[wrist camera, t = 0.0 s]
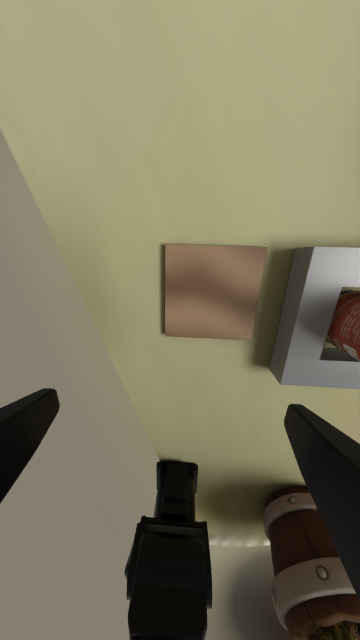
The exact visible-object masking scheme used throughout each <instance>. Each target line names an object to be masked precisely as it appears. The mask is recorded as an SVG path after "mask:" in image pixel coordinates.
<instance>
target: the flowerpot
mask: <svg viewBox="0 0 360 640" xmlns="http://www.w3.org/2000/svg"><path fill="white" fill-rule="evenodd" d="M263 521H264V529H265V533H266V536H267V538H268V539H269V540H270V544H271V553H272V562H273V569H274V575H275V578H274V579H273V581H272V583H271V594H272V600H273V604H274V608H275V611H276V614H277V617H278V619H279V621H280V623H281V625H282V626H283V627H284V628H285V629H286V630H287V631H288V633H289V636H290V639H291V640H360V602H359V600H358V597H357V595H356V593H355V591H354V589H353V586H352V584H351V582H350V580H349V578H348V575H347V573H346V571H345V569H344V567H343V564H342V562H341V560H340V558H339V556H338V553H337V551H336V549H335V547H334V545H333V542H332V540H331V538H330V536H329V534H328V531H327V529H326V527H325V525H324V523H323V520H322V518H321V516H320V514H319V512H318V510H317V507H316V505H315V503H314V501H313V499H312V496H311V494H310V492H309V490H308V488H306V489H304V488H303V487H295V488H288V489H285V490H282V491H280V492H278V493H276V496H275V495H272V496H271V497H269V499H268V500H267V501H266V504H265V511H264V514H263Z"/></svg>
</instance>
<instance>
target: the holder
mask: <svg viewBox="0 0 360 640" xmlns="http://www.w3.org/2000/svg"><path fill="white" fill-rule="evenodd" d="M342 287H360V248H345V247H305V248H295V252H294V257H293V261H292V266H291V270H290V275H289V280H288V284H287V289H286V294H285V298H284V303H283V308H282V312H281V317H280V321H279V326H278V331H277V335H276V340H275V345H274V349H273V354H272V359H271V363H270V368H269V369H270V371H271V372H272V373H273V375H274V376H275V378H276V379H277V380H278V382H279V383H280V384H281V385H298V386H315V387H331V388H348V389H360V361H359V360H358V359H356V358H354V357H353V356H351V355H349V354H348V353H346V352H344V351H343V350H341V349H338V348H323V346H324V343H325V340H326V337H327V333H328V330H329V327H330V324H331V321H332V317H333V314H334V311H335V308H336V304H337V301H338V298H339V295H340V292H341V288H342Z"/></svg>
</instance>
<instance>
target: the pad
mask: <svg viewBox="0 0 360 640" xmlns="http://www.w3.org/2000/svg"><path fill="white" fill-rule="evenodd" d="M266 251H267V247H243V246H208V245H173V244H165V336H174V337H194V338H214V339H234V340H251V339H252V333H253V328H254V322H255V316H256V310H257V304H258V298H259V292H260V286H261V280H262V275H263V269H264V263H265V257H266Z"/></svg>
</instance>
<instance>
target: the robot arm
mask: <svg viewBox="0 0 360 640" xmlns="http://www.w3.org/2000/svg"><path fill="white" fill-rule="evenodd" d="M59 407H60V405H59V400H58V396H57V391H56V390H55V389H51V388H44V389H41V390H39V391H37V392H34V393H33V394H30V395H28V396H26V397H24V398H22V399H19V400H17V401H15V402H13V403H11V404H9V405H6V406H4V407H2V408H0V503H1V502H2V500H3V499H4V497H5V496H6V494H7V493H8V491H9V490H10V489H11V487H12V486H13V484H14V483H15V481H16V480H17V478H18V477H19V475H20V474H21V472H22V471H23V469H24V468H25V466H26V465H27V463H28V462H29V461H30V459H31V457H32V456H33V454H34V452H35V451H36V450H37V448H38V446H39V444H40V443H41V441H42V439H43V438H44V436H45V434H46V432H47V431H48V429H49V427H50V425H51V424H52V422H53V420H54V418H55V417H56V415H57V413H58V411H59ZM284 426H285V429H286V432H287V435H288V438H289V441H290V443H291V446H292V449H293V452H294V455H295V457H296V460H297V463H298V466H299V469H300V471H301V474H302V476H303V478H304V481H305V483H306V485H307V488H308V490H309V492H310V494H311V496H312V499H313V501H314V503H315V505H316V507H317V510H318V512H319V514H320V516H321V518H322V520H323V523H324V525H325V527H326V529H327V531H328V534H329V536H330V538H331V540H332V542H333V545H334V547H335V549H336V551H337V553H338V556H339V558H340V560H341V562H342V564H343V567H344V569H345V571H346V573H347V575H348V578H349V580H350V582H351V584H352V586H353V589H354V591H355V593H356V595H357V597H358V600H359V602H360V444H359V443H357V442H356V441H354V440H353V439H352V438H350V437H349V436H347V435H346V434H344V433H343V432H341V431H340V430H338V429H337V428H335V427H334V426H332V425H331V424H329V423H328V422H327V421H325V420H324V419H322V418H321V417H319V416H318V415H316V414H315V413H313V412H312V411H310V410H309V409H307V408H306V407H304V406H303V405H300V404H290V405H289V406H288V408H287V412H286V416H285V419H284ZM197 476H198V465H196V464H185V463H173V462H157V497H156V504H155V511H154V518H150V517H146V516H142V518H141V522H140V523H138V524H137V528H136V533H135V538H134V542H133V545H132V548H131V552H130V555H129V558H128V561H127V564H126V568H125V576H126V579H127V600H130V605H129V611H128V627H129V638H130V640H205V637H206V630H207V609H211V608H212V575H211V562H210V551H209V541H208V530H207V522H205V521H203V522H195V493H196V487H197Z"/></svg>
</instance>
